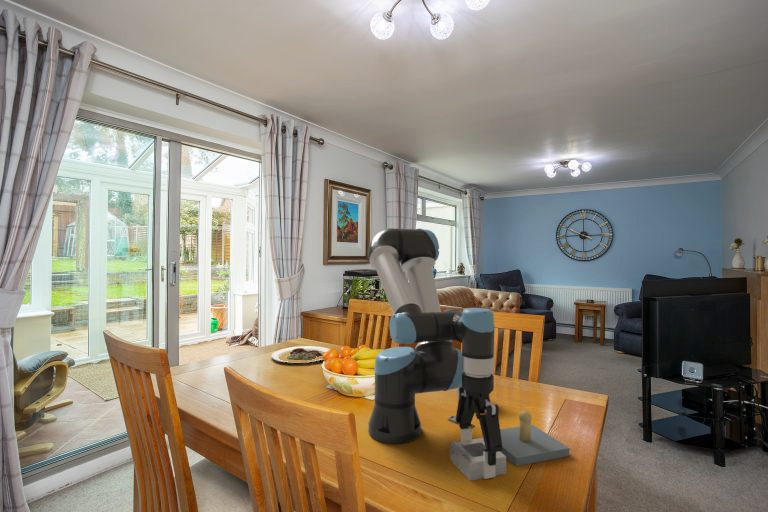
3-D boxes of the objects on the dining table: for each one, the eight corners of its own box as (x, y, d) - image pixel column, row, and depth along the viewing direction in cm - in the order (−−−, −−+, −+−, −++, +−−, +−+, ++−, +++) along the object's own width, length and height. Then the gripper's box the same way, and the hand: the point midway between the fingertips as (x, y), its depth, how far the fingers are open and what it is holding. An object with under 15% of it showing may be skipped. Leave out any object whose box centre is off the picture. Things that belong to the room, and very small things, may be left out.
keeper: (516, 466, 92) (516, 426, 92) (484, 439, 106) (484, 404, 105) (569, 455, 97) (569, 418, 97) (532, 431, 110) (532, 398, 110)
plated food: (302, 370, 168) (302, 362, 168) (258, 359, 184) (258, 352, 184) (345, 355, 193) (345, 348, 193) (303, 346, 209) (303, 340, 209)
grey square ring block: (469, 480, 86) (470, 463, 86) (449, 459, 95) (450, 443, 95) (506, 473, 89) (506, 456, 89) (483, 453, 98) (483, 437, 98)
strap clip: (446, 421, 118) (446, 407, 118) (452, 418, 120) (452, 404, 120) (469, 430, 112) (469, 416, 111) (475, 427, 114) (475, 413, 114)
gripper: (520, 386, 83) (519, 489, 83) (467, 359, 104) (467, 441, 104) (490, 390, 80) (490, 496, 80) (442, 361, 102) (442, 445, 102)
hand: (477, 465), depth 92 cm, fingers closed on grey square ring block, 10 cm apart
